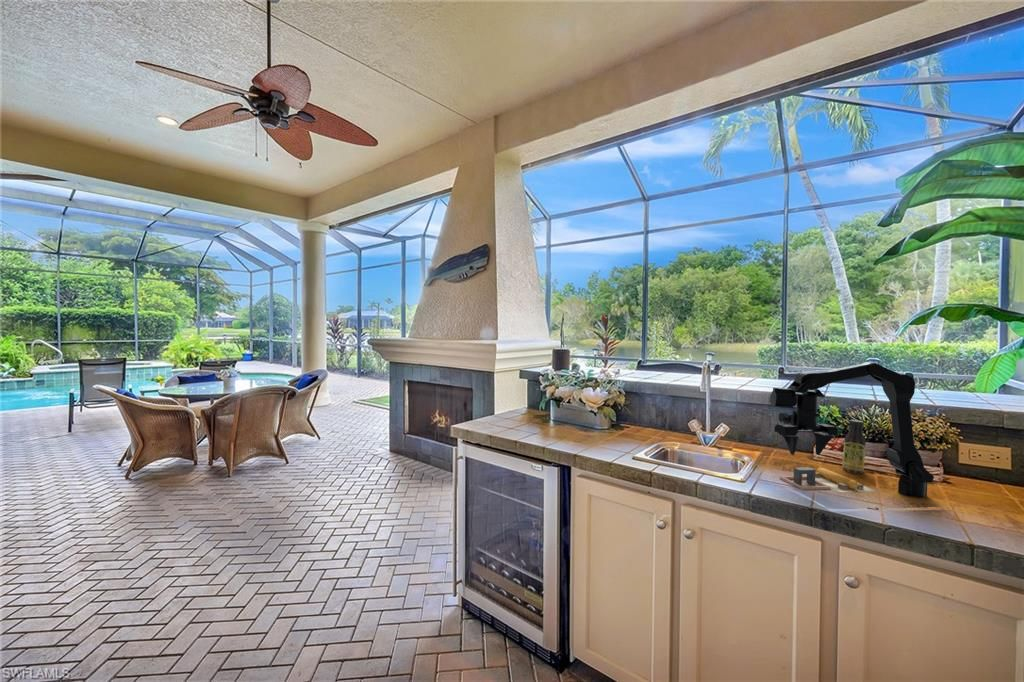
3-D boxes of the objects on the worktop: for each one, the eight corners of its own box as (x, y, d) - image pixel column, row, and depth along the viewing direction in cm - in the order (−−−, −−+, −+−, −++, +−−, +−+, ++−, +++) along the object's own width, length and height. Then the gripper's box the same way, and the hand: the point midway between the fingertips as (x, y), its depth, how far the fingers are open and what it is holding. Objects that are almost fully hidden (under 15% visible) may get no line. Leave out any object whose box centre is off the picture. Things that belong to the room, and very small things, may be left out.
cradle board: (799, 475, 148) (799, 469, 148) (832, 475, 149) (832, 469, 149) (840, 494, 131) (840, 487, 131) (877, 493, 132) (877, 487, 132)
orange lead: (814, 474, 147) (814, 466, 147) (822, 474, 147) (822, 466, 147) (851, 490, 132) (852, 481, 132) (860, 490, 133) (860, 481, 132)
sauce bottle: (841, 472, 152) (843, 420, 152) (842, 468, 157) (844, 417, 156) (864, 477, 148) (866, 423, 147) (865, 472, 152) (866, 420, 152)
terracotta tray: (806, 480, 143) (806, 475, 143) (830, 491, 133) (830, 486, 133) (779, 480, 143) (779, 476, 143) (801, 491, 133) (802, 487, 133)
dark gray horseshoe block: (809, 483, 140) (809, 467, 139) (815, 485, 137) (815, 469, 137) (793, 483, 139) (793, 467, 139) (798, 485, 137) (799, 470, 137)
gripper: (813, 404, 146) (811, 447, 147) (764, 404, 145) (762, 447, 145) (840, 410, 135) (838, 457, 135) (787, 410, 134) (785, 457, 134)
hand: (805, 454), depth 138 cm, fingers open, 9 cm apart
